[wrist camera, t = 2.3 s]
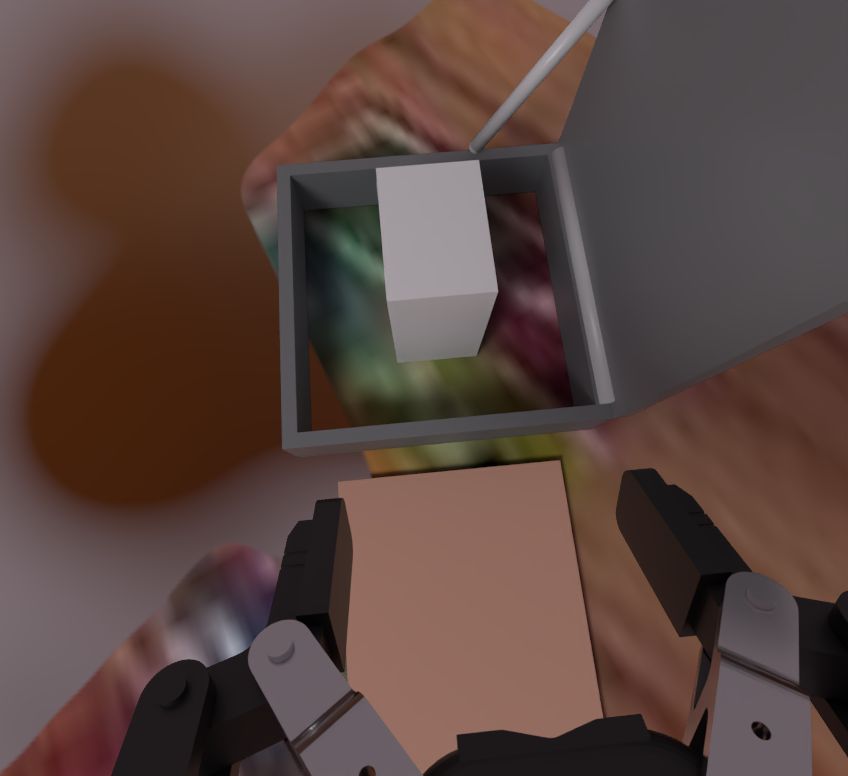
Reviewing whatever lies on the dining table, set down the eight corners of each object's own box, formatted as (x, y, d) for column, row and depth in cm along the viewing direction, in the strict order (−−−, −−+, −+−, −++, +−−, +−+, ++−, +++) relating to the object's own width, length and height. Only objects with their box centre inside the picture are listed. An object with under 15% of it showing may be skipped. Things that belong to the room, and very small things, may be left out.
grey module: (464, 251, 32) (479, 152, 23) (478, 355, 30) (500, 291, 21) (387, 257, 32) (373, 161, 23) (396, 363, 30) (384, 301, 21)
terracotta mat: (558, 460, 28) (560, 460, 28) (610, 775, 24) (613, 780, 24) (339, 482, 28) (338, 481, 28) (355, 805, 24) (354, 809, 23)
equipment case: (555, 179, 33) (767, -352, 13) (604, 427, 29) (1047, 218, 8) (291, 201, 33) (73, -315, 12) (299, 456, 28) (-24, 310, 8)
